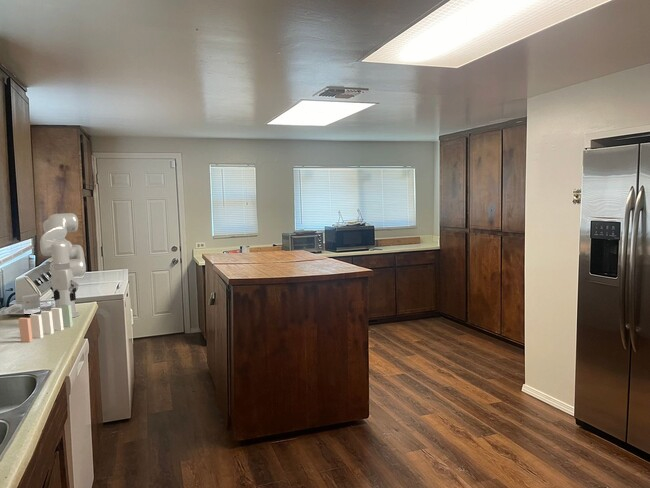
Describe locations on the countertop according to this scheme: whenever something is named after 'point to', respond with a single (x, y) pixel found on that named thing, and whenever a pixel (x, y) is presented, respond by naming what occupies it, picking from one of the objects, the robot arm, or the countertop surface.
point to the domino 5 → (67, 315)
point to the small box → (30, 301)
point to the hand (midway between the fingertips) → (65, 300)
